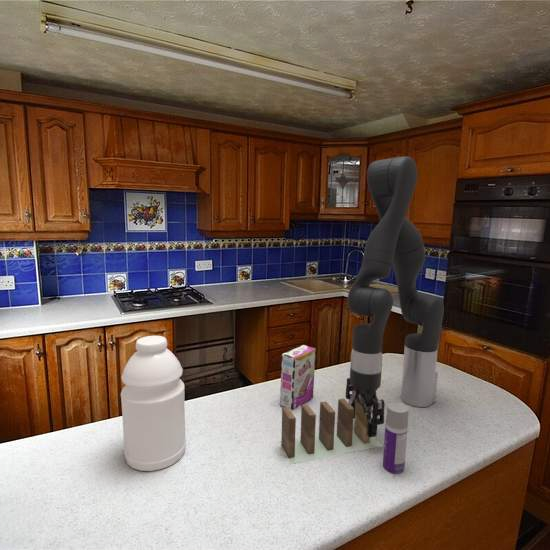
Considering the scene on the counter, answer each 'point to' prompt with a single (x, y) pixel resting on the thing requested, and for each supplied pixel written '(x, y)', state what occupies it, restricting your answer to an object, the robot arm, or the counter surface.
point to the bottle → (153, 406)
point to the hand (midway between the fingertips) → (362, 426)
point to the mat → (322, 452)
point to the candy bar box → (297, 376)
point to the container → (395, 438)
